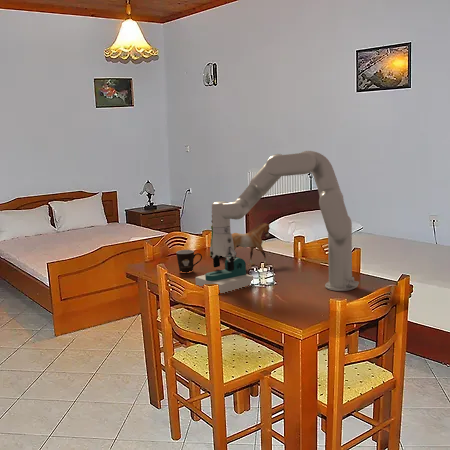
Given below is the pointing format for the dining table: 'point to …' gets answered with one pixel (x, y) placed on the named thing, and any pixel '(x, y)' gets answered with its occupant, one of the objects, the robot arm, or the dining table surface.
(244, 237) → the horse figurine
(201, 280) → the block
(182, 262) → the coffee mug
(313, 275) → the dining table surface
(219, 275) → the bracket
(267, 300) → the dining table surface
